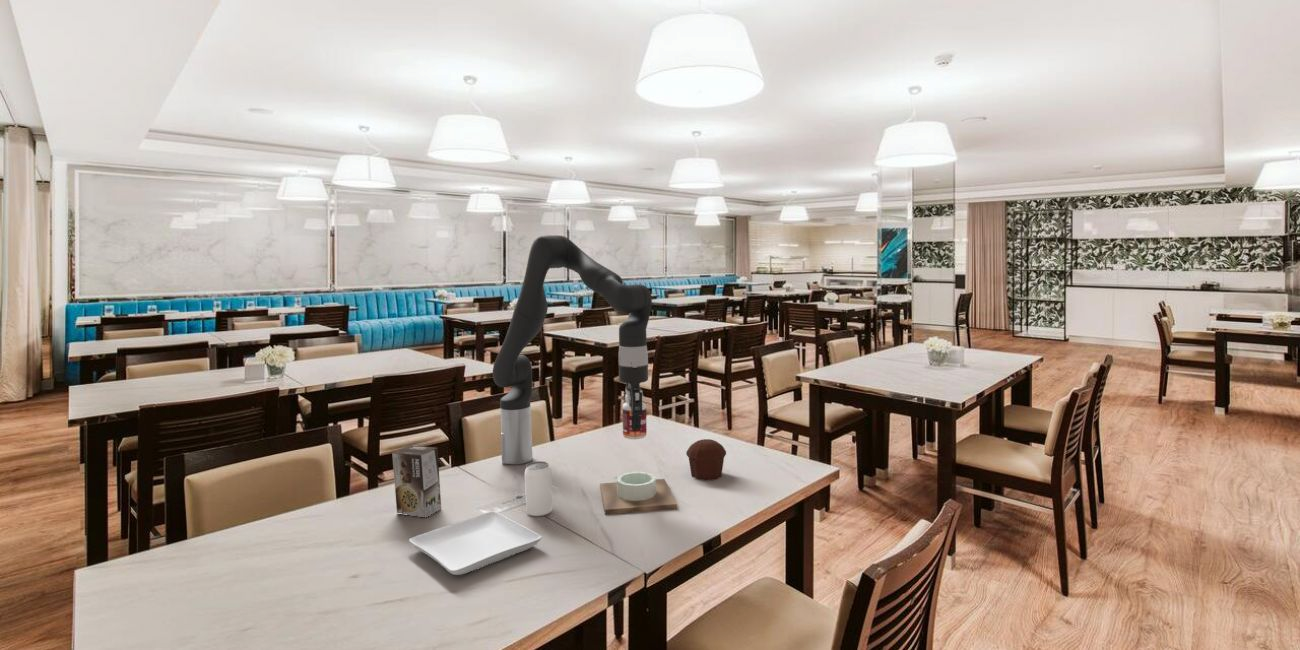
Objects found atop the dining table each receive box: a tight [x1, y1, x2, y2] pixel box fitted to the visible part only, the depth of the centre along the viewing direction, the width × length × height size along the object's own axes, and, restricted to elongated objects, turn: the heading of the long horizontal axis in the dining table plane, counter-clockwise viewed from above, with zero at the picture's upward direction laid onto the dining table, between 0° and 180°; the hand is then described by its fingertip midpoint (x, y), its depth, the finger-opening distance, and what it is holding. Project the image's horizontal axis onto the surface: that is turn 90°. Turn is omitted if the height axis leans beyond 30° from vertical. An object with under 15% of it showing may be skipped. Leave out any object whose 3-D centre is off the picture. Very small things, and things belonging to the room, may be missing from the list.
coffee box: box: [391, 445, 442, 519], centre depth 151 cm, size 9×6×16 cm
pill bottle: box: [622, 393, 648, 440], centre depth 156 cm, size 6×6×11 cm
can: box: [524, 461, 553, 517], centre depth 150 cm, size 6×6×12 cm
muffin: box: [685, 439, 727, 481], centre depth 174 cm, size 12×11×10 cm
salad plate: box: [408, 510, 543, 576], centre depth 131 cm, size 21×21×3 cm
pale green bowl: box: [616, 471, 656, 501], centre depth 158 cm, size 10×10×4 cm
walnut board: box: [599, 478, 678, 515], centre depth 158 cm, size 18×18×1 cm
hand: (634, 426), depth 156 cm, fingers closed on pill bottle, 6 cm apart
